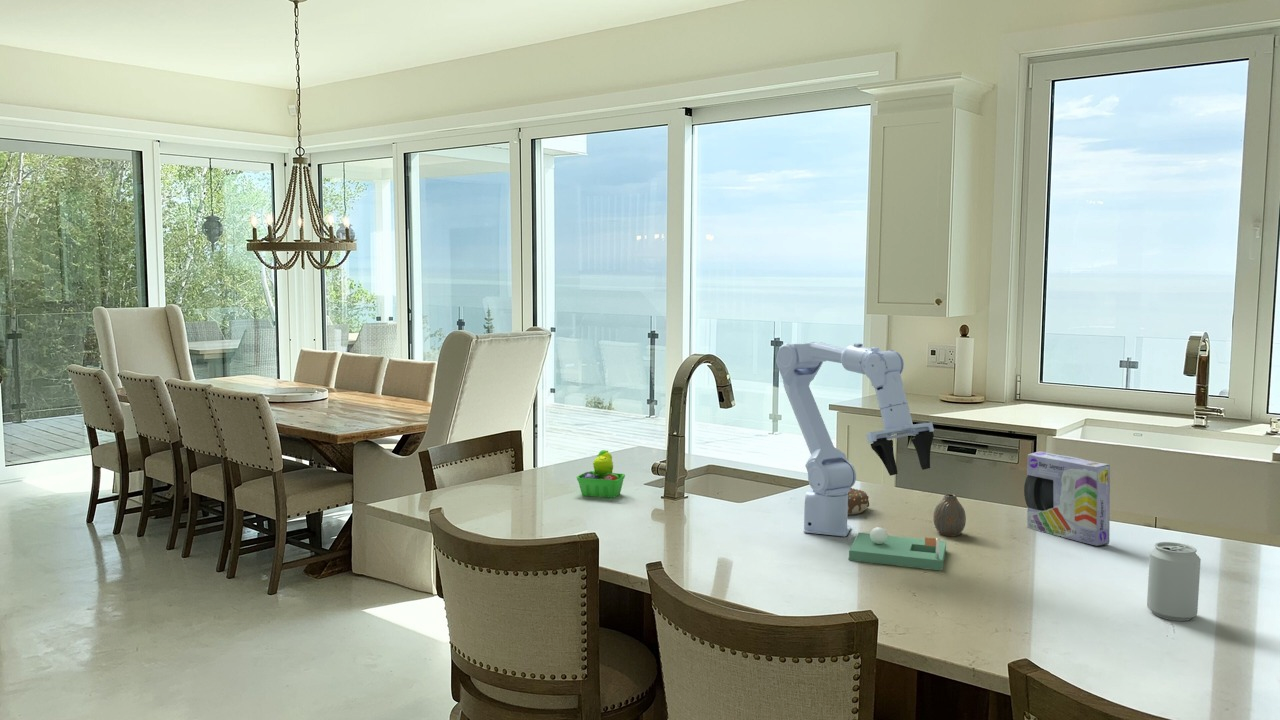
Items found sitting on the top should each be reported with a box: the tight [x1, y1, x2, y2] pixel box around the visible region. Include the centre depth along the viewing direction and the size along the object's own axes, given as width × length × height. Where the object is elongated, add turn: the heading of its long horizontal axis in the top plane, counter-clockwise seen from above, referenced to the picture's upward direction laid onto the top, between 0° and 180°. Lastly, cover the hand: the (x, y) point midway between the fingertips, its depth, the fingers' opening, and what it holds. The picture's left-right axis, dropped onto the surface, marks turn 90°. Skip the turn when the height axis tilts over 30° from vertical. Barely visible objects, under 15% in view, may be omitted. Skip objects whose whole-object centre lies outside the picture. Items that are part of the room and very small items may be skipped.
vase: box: [932, 493, 967, 537], centre depth 207 cm, size 7×7×9 cm
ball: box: [869, 526, 888, 544], centre depth 192 cm, size 4×4×4 cm
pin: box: [924, 536, 941, 559], centre depth 183 cm, size 3×1×6 cm, turn 69°
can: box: [1146, 541, 1202, 622], centre depth 158 cm, size 8×8×12 cm
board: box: [848, 532, 947, 571], centre depth 191 cm, size 18×14×2 cm
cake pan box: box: [1023, 451, 1111, 547], centre depth 205 cm, size 19×5×18 cm, turn 27°
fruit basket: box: [576, 449, 626, 499], centre depth 243 cm, size 11×9×11 cm
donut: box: [848, 487, 870, 516], centre depth 228 cm, size 14×14×5 cm
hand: (910, 471), depth 189 cm, fingers open, 7 cm apart
